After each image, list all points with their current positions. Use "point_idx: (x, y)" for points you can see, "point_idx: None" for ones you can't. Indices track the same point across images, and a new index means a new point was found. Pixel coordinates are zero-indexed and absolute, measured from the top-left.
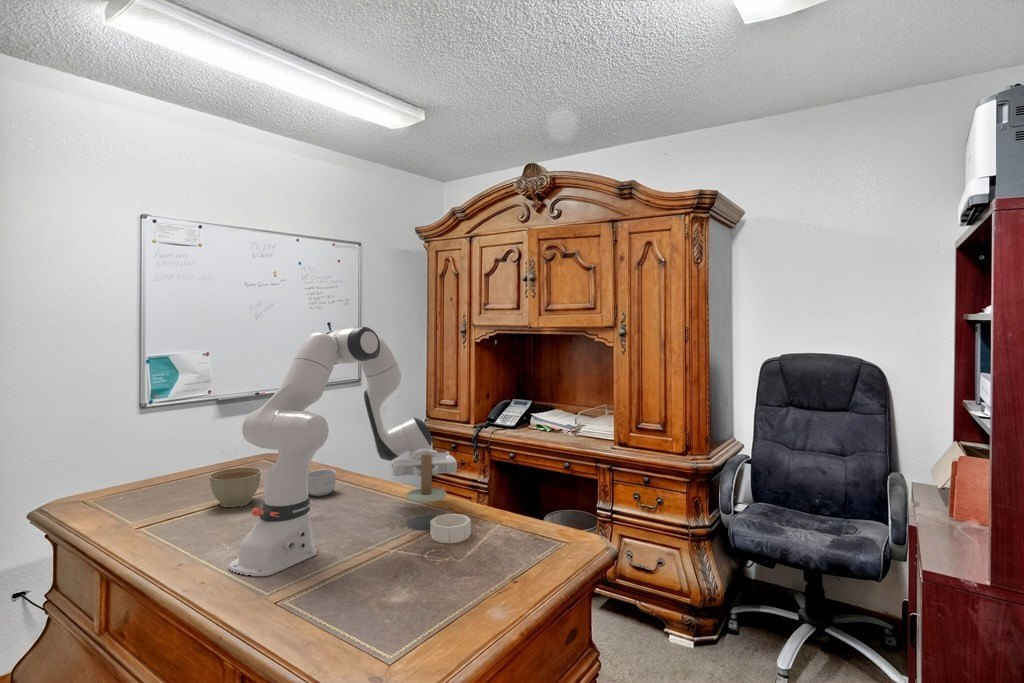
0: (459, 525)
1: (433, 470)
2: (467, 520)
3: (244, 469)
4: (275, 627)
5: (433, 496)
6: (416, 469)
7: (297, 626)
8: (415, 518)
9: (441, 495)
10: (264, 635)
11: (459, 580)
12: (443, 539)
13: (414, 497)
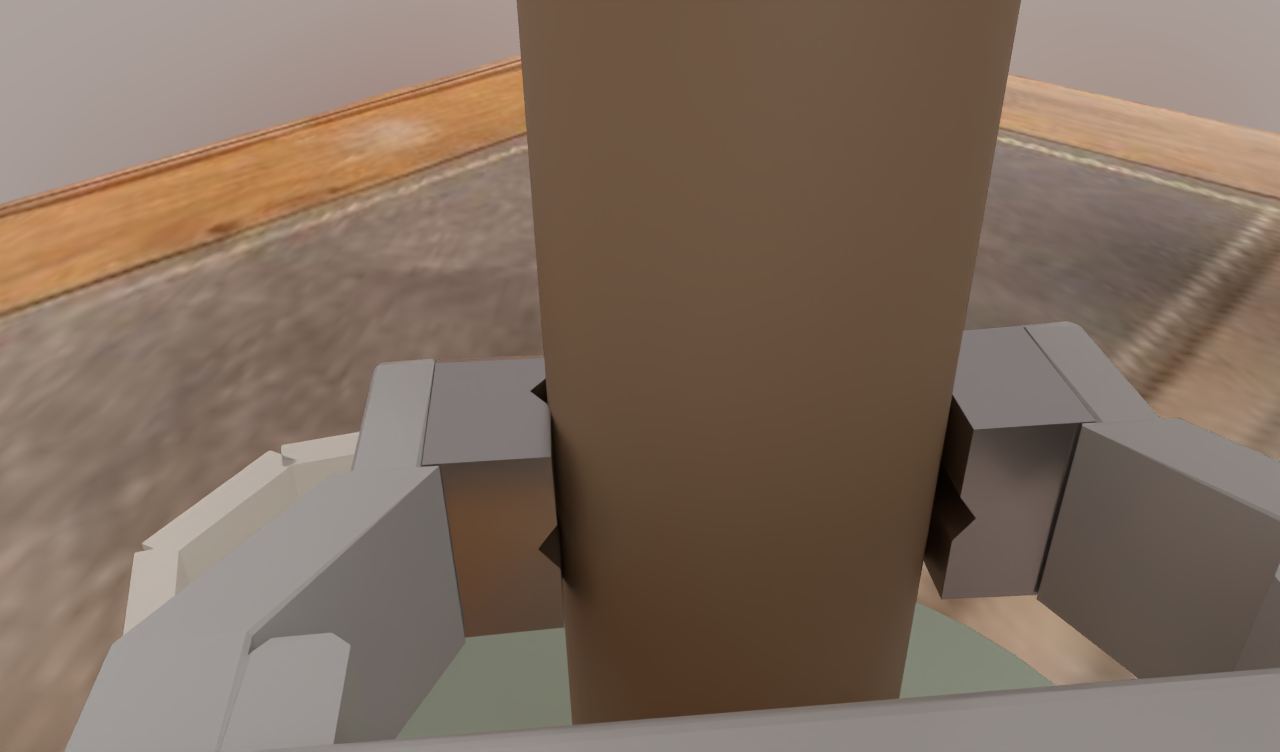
0: (324, 452)
1: (487, 369)
2: (183, 542)
3: None
4: (1171, 137)
5: (558, 683)
6: (1133, 388)
7: (1093, 136)
8: None
9: None
10: (1174, 121)
11: (485, 251)
12: None
13: (945, 668)
